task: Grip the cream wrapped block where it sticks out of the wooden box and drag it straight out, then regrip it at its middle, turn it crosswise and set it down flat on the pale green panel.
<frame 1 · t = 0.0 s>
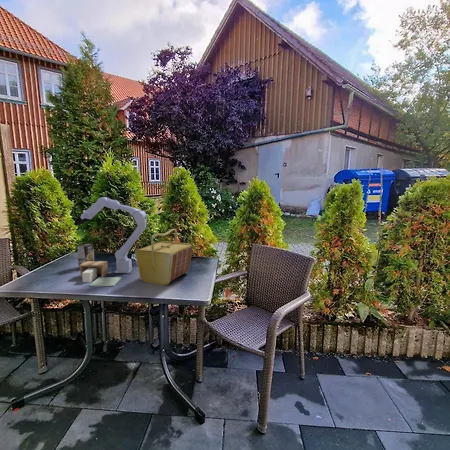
hand: (77, 224, 192), 32 cm above the table, tool tilted 50°, fingers open, 7 cm apart
coffee box: (86, 267, 207), on the table
pale green panel: (105, 282, 177), on the table
cream block: (90, 279, 182), on the table
wooden box: (94, 275, 189), on the table
picnic basket: (165, 277, 188), on the table
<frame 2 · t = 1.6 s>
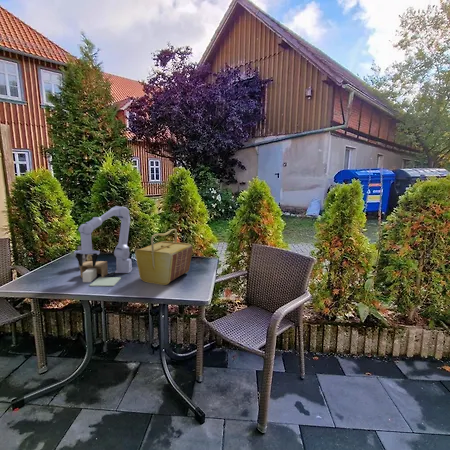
hand: (87, 265, 179), 9 cm above the table, tool pointing down, fingers open, 7 cm apart
nothing on the table moved.
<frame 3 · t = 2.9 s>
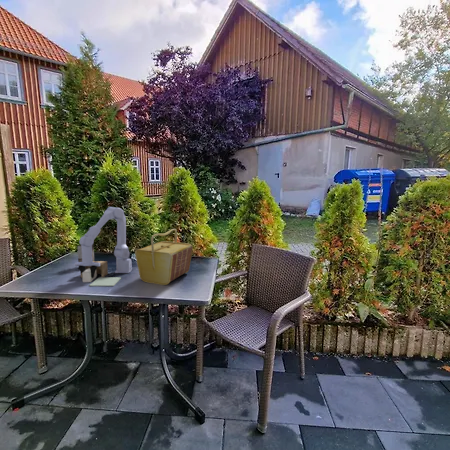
hand: (88, 277, 180), 2 cm above the table, tool pointing down, fingers closed on cream block, 4 cm apart
cream block: (89, 279, 182), on the table, touching gripper
everything else where it was.
when the fingers open (2 cm above the table, at t = 5.1 s): cream block stays where it is, on the table.
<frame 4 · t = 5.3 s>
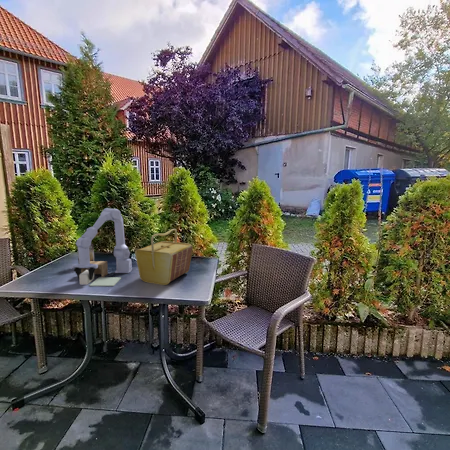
hand: (85, 279, 176), 2 cm above the table, tool pointing down, fingers open, 6 cm apart
cream block: (87, 281, 178), on the table
everything else where it was.
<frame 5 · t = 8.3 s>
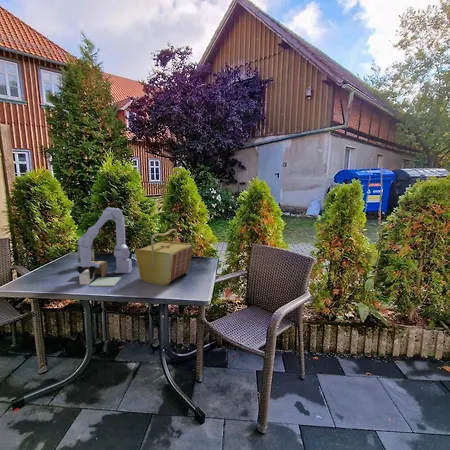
hand: (87, 278, 178), 2 cm above the table, tool pointing down, fingers closed on cream block, 4 cm apart
cream block: (87, 281, 178), on the table, touching gripper
everything else where it was.
when the fingers open (4 cm above the table, at t = 12.5 s): cream block drops 1 cm, resting on pale green panel.
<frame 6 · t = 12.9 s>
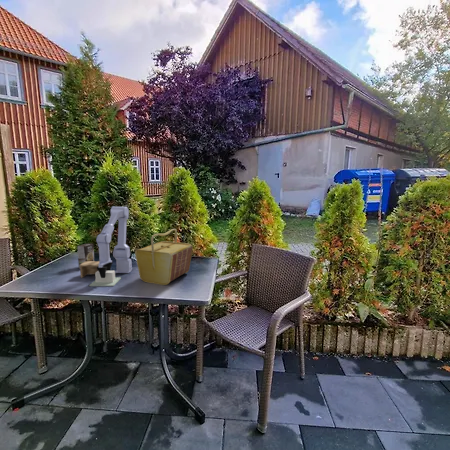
hand: (105, 275, 177), 4 cm above the table, tool pointing down, fingers open, 7 cm apart
cream block: (105, 281, 177), point 1 cm above the table, touching pale green panel
everything else where it was.
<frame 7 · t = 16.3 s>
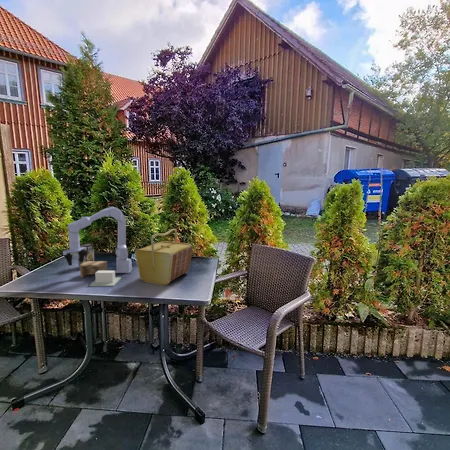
hand: (75, 263, 182), 9 cm above the table, tool pointing down, fingers open, 7 cm apart
nothing on the table moved.
at the end: cream block inside the target area on the pale green panel (0.1 cm from its centre), point 0.6 cm above the pale green panel's base; cream block tilted 0°; the gripper is holding nothing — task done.
